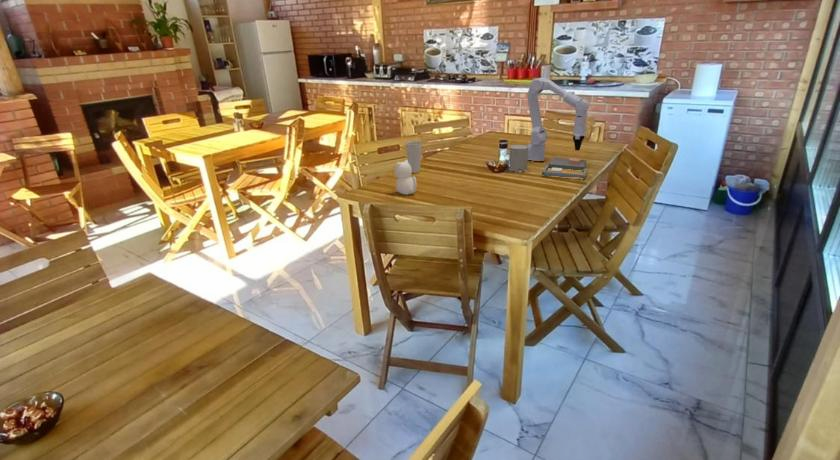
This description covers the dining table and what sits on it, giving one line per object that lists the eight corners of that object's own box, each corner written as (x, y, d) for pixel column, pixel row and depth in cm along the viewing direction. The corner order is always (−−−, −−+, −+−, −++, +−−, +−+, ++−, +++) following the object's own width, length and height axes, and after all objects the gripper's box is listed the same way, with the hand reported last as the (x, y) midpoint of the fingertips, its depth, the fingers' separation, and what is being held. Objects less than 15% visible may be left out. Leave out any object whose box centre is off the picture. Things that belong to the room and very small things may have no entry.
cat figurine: (404, 188, 215) (402, 157, 209) (423, 193, 207) (422, 161, 201) (391, 193, 209) (388, 161, 203) (410, 198, 201) (408, 165, 195)
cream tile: (552, 167, 230) (552, 171, 231) (550, 170, 226) (550, 173, 227) (562, 168, 228) (562, 172, 229) (561, 170, 224) (560, 174, 225)
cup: (420, 174, 235) (419, 144, 229) (404, 173, 237) (403, 144, 230) (423, 169, 242) (423, 141, 236) (408, 169, 244) (407, 140, 238)
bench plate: (548, 169, 235) (548, 164, 234) (552, 162, 247) (553, 157, 245) (582, 172, 228) (583, 166, 227) (585, 165, 240) (586, 160, 239)
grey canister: (506, 171, 235) (507, 148, 230) (511, 166, 243) (512, 144, 238) (524, 173, 231) (525, 149, 226) (529, 168, 238) (530, 145, 233)
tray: (541, 176, 225) (542, 171, 224) (546, 169, 235) (546, 164, 234) (583, 180, 217) (584, 175, 216) (586, 173, 228) (587, 168, 227)
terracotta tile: (568, 163, 233) (569, 160, 232) (570, 161, 237) (570, 157, 236) (578, 164, 231) (579, 160, 230) (580, 162, 235) (580, 158, 234)
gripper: (586, 127, 225) (583, 153, 230) (589, 121, 237) (586, 147, 242) (572, 126, 227) (569, 152, 233) (575, 121, 239) (573, 146, 245)
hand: (577, 150), depth 238 cm, fingers closed
